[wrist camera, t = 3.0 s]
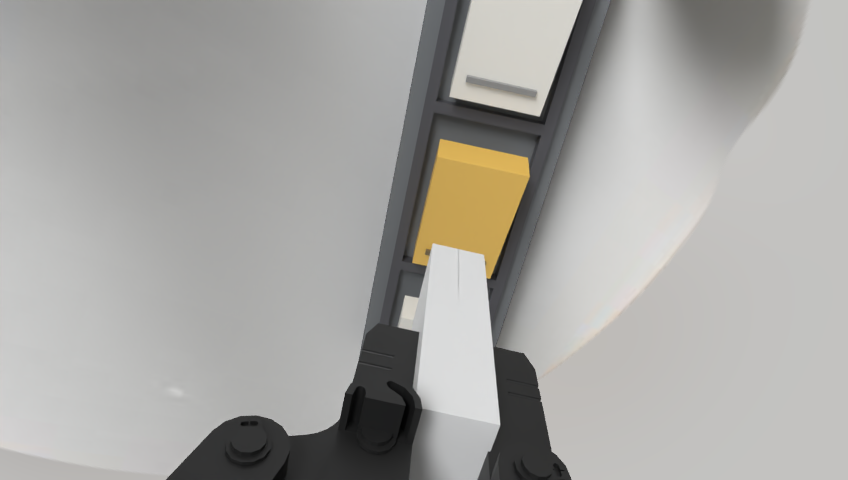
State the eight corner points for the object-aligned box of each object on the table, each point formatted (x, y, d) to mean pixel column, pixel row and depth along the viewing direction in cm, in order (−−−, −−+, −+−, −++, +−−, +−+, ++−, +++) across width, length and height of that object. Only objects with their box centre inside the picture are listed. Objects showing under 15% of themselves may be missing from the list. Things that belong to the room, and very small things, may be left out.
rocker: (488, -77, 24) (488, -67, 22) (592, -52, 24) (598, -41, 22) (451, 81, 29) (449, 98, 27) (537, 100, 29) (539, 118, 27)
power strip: (465, -184, 27) (467, -215, 22) (636, -142, 27) (670, -164, 23) (363, 345, 42) (353, 388, 37) (474, 367, 42) (476, 411, 38)
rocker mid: (440, 138, 28) (437, 158, 26) (528, 157, 28) (529, 178, 27) (415, 243, 33) (411, 265, 31) (490, 258, 33) (490, 281, 32)
